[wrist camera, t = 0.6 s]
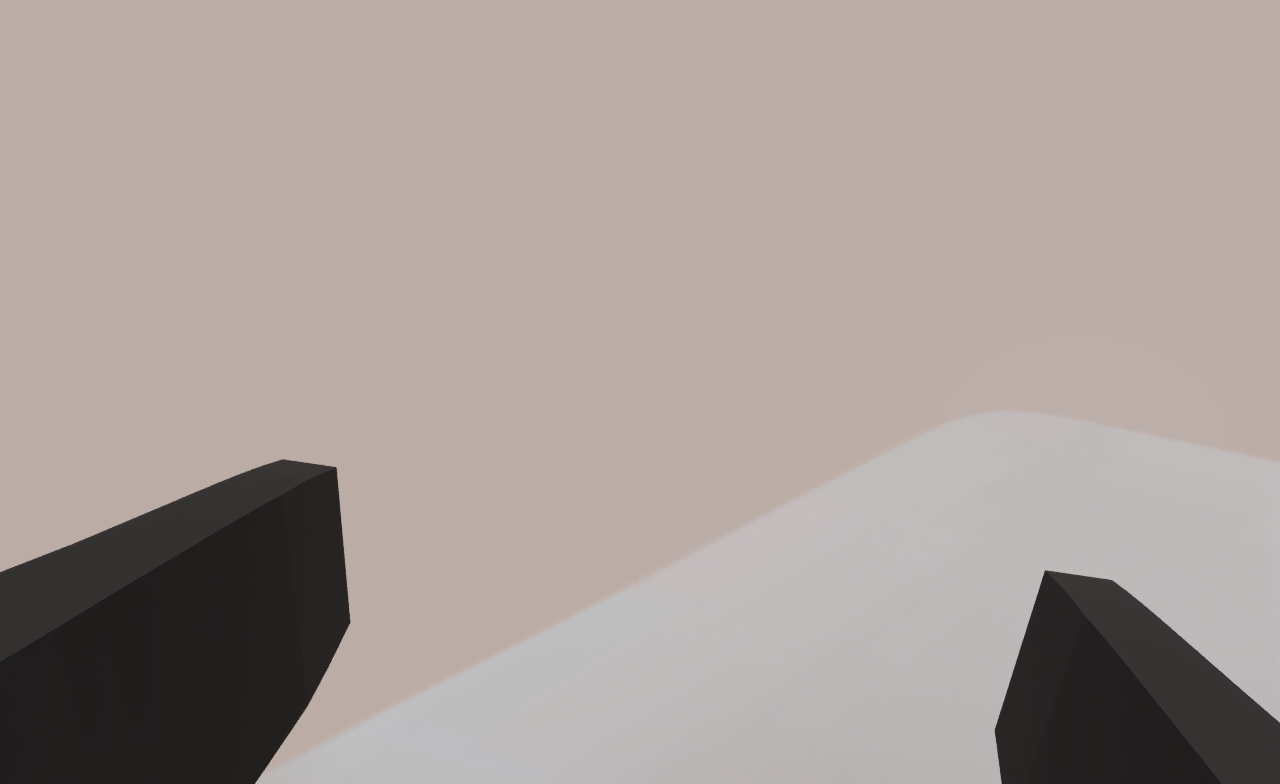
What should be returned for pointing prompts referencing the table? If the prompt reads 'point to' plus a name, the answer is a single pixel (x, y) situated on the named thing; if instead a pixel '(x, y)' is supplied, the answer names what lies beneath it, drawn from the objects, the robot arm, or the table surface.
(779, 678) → the table surface
